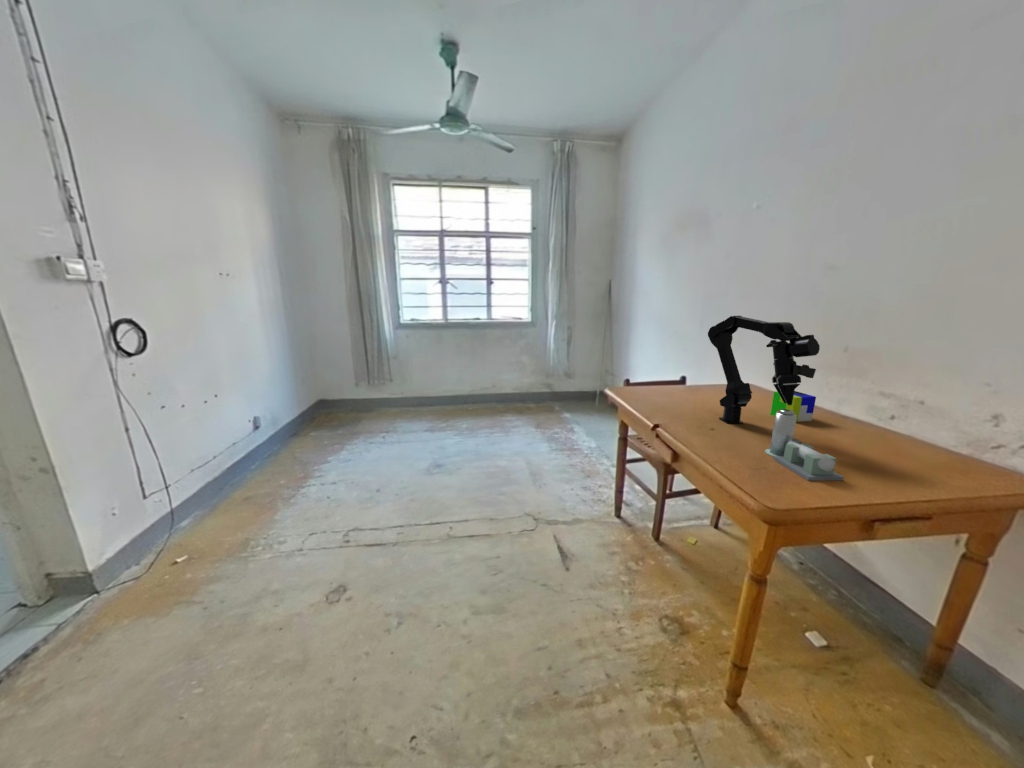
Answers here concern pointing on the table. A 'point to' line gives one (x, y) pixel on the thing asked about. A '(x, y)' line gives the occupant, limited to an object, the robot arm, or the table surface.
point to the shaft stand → (808, 462)
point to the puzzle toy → (795, 405)
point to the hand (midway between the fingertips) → (787, 404)
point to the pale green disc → (771, 453)
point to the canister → (782, 431)
